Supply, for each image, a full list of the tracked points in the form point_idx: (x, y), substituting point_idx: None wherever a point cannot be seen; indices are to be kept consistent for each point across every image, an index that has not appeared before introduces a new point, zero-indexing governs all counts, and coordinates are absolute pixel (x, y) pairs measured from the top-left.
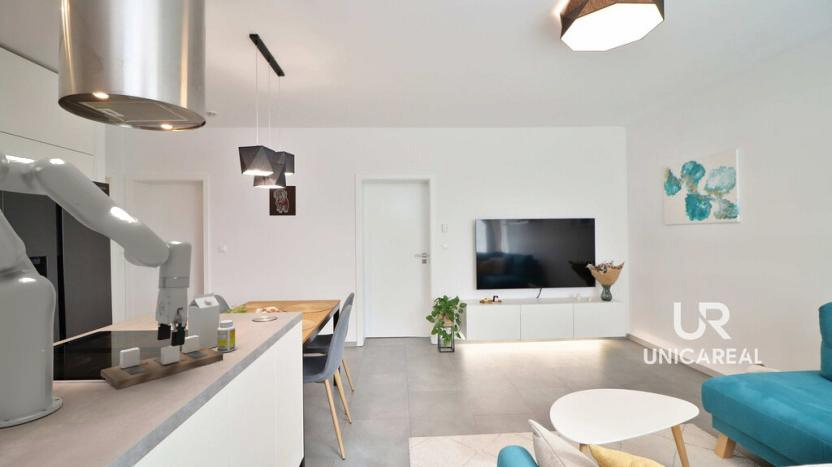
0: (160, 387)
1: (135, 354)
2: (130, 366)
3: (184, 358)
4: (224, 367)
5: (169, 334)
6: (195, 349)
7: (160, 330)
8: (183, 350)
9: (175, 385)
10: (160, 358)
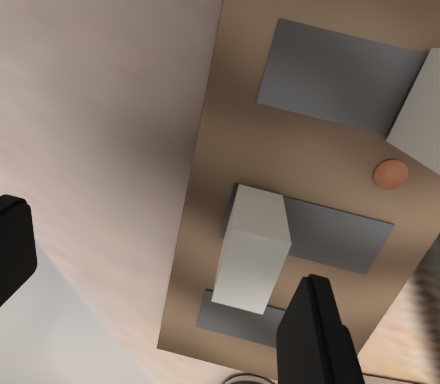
0: (81, 49)
1: (434, 135)
2: None
3: None
4: (88, 281)
5: (280, 360)
6: None
7: (316, 367)
8: None
9: (51, 94)
10: (366, 244)
